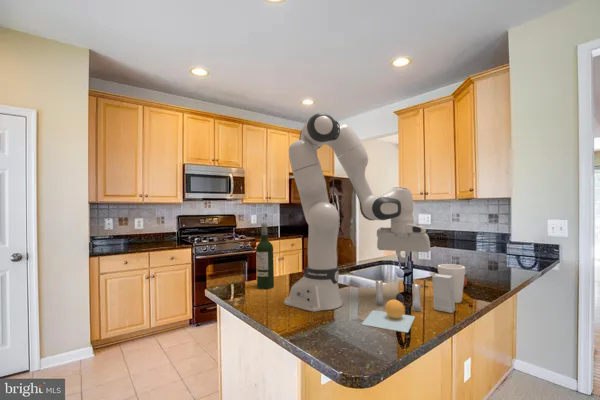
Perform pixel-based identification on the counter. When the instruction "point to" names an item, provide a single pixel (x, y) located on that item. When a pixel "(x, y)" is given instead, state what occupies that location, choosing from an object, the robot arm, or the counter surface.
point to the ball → (394, 309)
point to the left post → (379, 292)
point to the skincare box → (443, 293)
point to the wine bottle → (265, 261)
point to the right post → (416, 297)
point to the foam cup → (454, 278)
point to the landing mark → (389, 321)
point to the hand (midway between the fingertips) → (403, 262)
